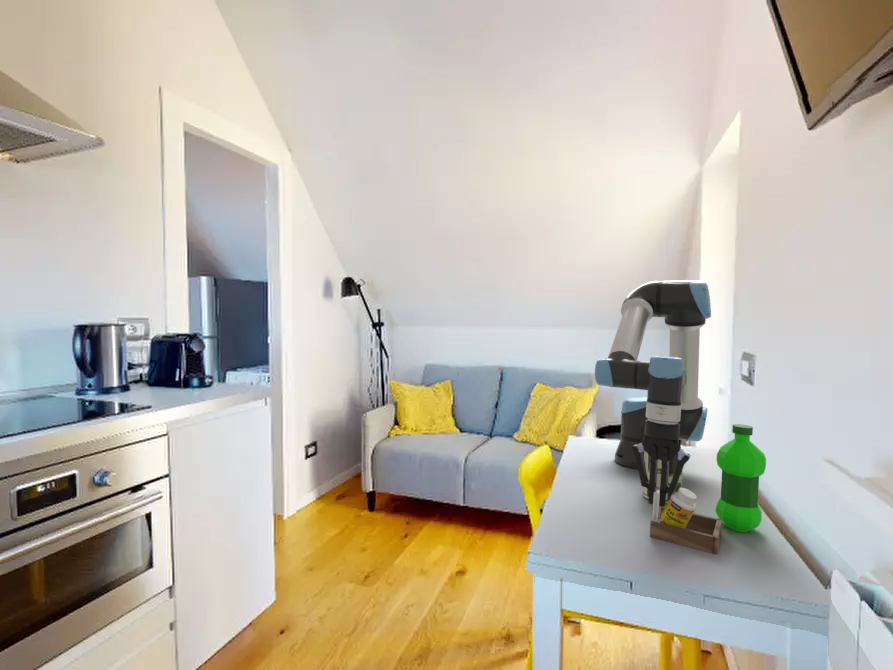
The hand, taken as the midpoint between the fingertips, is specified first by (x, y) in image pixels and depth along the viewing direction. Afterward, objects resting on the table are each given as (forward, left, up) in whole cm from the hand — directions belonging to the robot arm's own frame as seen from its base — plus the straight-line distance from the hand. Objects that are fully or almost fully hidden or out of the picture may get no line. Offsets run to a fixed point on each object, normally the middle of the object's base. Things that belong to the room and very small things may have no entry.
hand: (656, 518), depth 113 cm
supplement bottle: (0, +3, -2) cm, 4 cm away
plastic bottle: (-14, +16, -3) cm, 21 cm away
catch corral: (-1, +6, -3) cm, 7 cm away
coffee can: (-24, -3, -3) cm, 24 cm away
